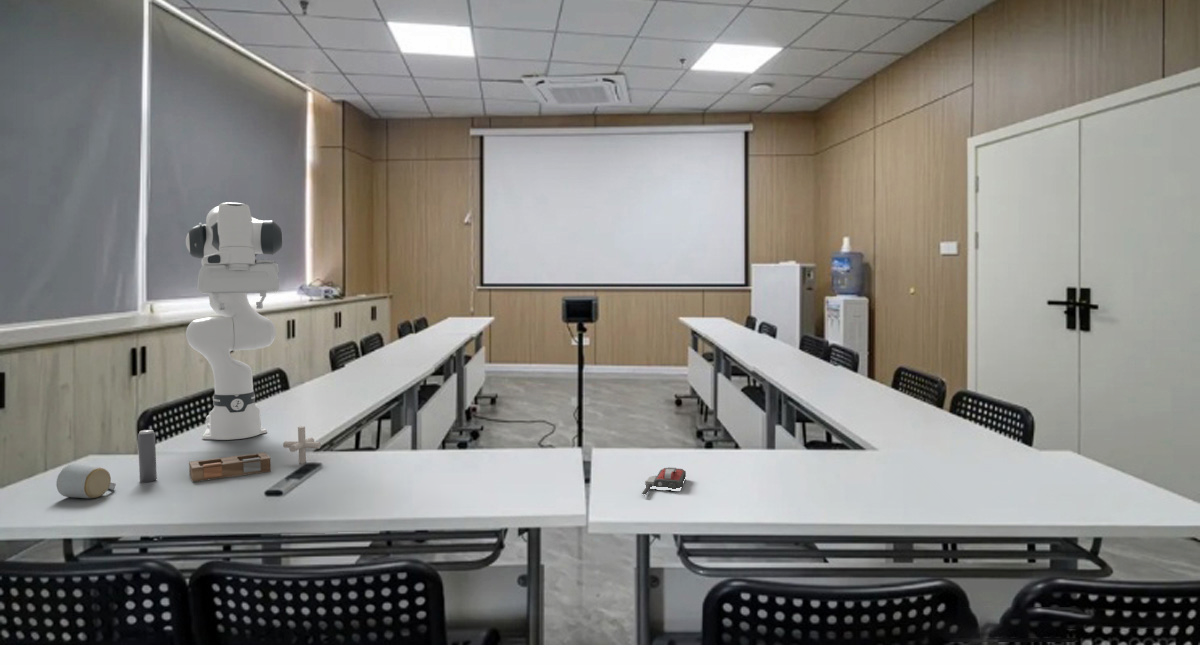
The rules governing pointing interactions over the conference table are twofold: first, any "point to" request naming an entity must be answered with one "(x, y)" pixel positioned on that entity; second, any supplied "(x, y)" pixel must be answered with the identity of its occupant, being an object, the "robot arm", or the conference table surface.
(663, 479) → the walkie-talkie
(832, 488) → the conference table surface
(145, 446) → the tall grey block
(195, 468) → the socket strip
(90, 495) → the ceramic mug
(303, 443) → the pipe connector
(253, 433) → the robot arm
